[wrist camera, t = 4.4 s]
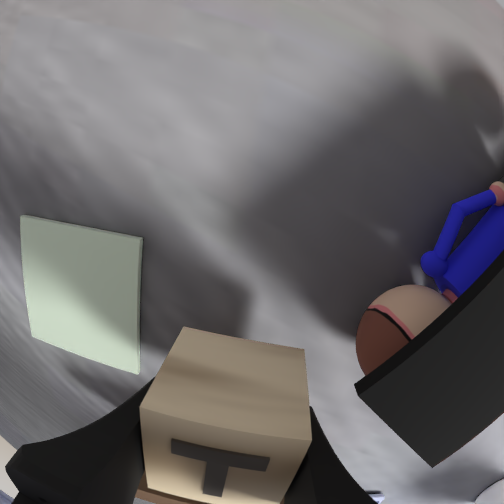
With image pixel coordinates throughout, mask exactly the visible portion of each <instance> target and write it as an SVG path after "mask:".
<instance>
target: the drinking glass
mask: <svg viewBox="0 0 504 504" xmlns="http://www.w3.org/2000/svg"><path fill="white" fill-rule="evenodd" d="M475 504H504V479H502V480H500V481H498V482H496V483H494V484H493V485H491V486H490V487H488V488H487V489H486V490H484V491H483V492H482V493H481V494H480V495H479V496H478V497H477V499H476V501H475Z"/></svg>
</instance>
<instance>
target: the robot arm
mask: <svg viewBox="0 0 504 504" xmlns="http://www.w3.org/2000/svg"><path fill="white" fill-rule="evenodd" d="M154 379H155V377H154V378H153V379H152V380H151V381H150V382H148V383H147V384H146V385H145V386H144V387H143V388H142V389H141V390H139V391H138V392H137V393H136V394H135V395H133V396H132V397H131V398H129V399H128V400H127V401H126V402H124V403H123V404H122V405H120V406H119V407H117V408H116V409H114V410H113V411H112V412H110V413H109V414H107V415H105V416H104V417H102V418H100V419H99V420H97V421H95V422H93V423H91V424H89V425H87V426H85V427H83V428H81V429H79V430H76V431H74V432H71V433H69V434H66V435H63V436H60V437H57V438H54V439H50V440H46V441H42V442H37V443H31V444H25V445H22V446H21V447H20V448H19V449H18V450H17V452H16V453H15V454H14V456H13V457H12V458H11V460H10V461H9V462H8V463H7V465H6V466H5V468H6V472H7V474H8V476H9V477H10V479H11V480H12V482H13V483H14V485H15V486H16V488H17V489H18V490H19V493H18V495H17V496H16V497H15V499H13V498H12V497H10V496H9V495H7V494H6V493H4V492H3V491H1V490H0V504H133V501H134V498H135V495H136V492H137V489H138V486H139V483H140V480H141V478H142V476H143V473H144V471H145V462H144V453H143V443H142V433H141V421H140V408H139V407H140V405H141V403H142V401H143V399H144V397H145V396H146V394H147V392H148V390H149V388H150V386H151V385H152V383H153V381H154ZM309 408H310V420H311V433H312V442H311V444H310V446H309V448H308V450H307V452H306V454H305V456H304V458H303V460H302V462H301V464H300V466H299V468H298V470H297V472H296V474H295V476H294V478H293V480H292V482H291V484H290V486H289V488H288V490H287V491H286V493H285V495H284V504H380V503H381V502H382V501H383V500H384V498H385V497H384V494H367V493H366V492H365V491H364V490H363V489H362V488H361V487H360V486H359V484H358V483H357V482H356V481H355V480H354V479H353V478H352V476H351V475H350V474H349V473H348V471H347V470H346V469H345V467H344V466H343V464H342V463H341V461H340V460H339V458H338V457H337V455H336V454H335V452H334V450H333V449H332V447H331V445H330V444H329V442H328V440H327V438H326V436H325V434H324V432H323V430H322V428H321V426H320V424H319V422H318V420H317V418H316V415H315V413H314V411H313V408H312V407H311V406H309Z"/></svg>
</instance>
